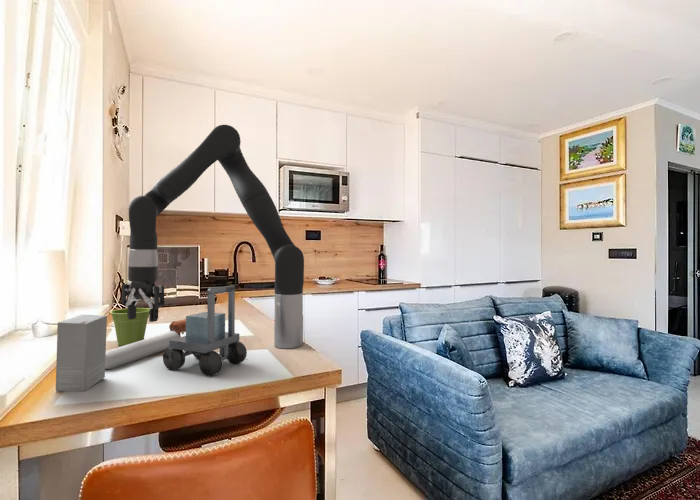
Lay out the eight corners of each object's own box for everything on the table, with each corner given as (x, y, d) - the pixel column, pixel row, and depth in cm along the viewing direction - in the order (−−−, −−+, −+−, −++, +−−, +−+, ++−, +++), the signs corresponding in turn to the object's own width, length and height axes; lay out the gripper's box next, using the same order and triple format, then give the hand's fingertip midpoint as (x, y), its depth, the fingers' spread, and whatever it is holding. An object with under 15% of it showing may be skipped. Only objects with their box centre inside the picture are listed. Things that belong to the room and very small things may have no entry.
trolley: (197, 356, 107) (197, 282, 107) (248, 363, 101) (248, 285, 101) (160, 369, 95) (160, 286, 95) (216, 378, 89) (216, 290, 89)
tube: (111, 357, 93) (181, 334, 117) (96, 349, 95) (169, 328, 119) (106, 376, 94) (177, 349, 118) (91, 367, 95) (164, 343, 119)
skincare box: (78, 379, 88) (78, 314, 88) (109, 378, 89) (109, 313, 89) (52, 393, 80) (52, 321, 80) (87, 392, 80) (87, 320, 80)
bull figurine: (207, 336, 132) (207, 313, 132) (172, 344, 120) (172, 319, 120) (200, 334, 134) (200, 312, 134) (165, 342, 123) (165, 318, 123)
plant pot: (156, 344, 120) (157, 310, 120) (115, 351, 112) (115, 314, 112) (144, 337, 128) (144, 306, 128) (105, 344, 120) (105, 310, 120)
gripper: (172, 265, 107) (171, 320, 107) (137, 263, 112) (136, 316, 112) (150, 266, 100) (149, 324, 100) (113, 264, 105) (112, 320, 105)
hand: (142, 320), depth 106 cm, fingers open, 8 cm apart
